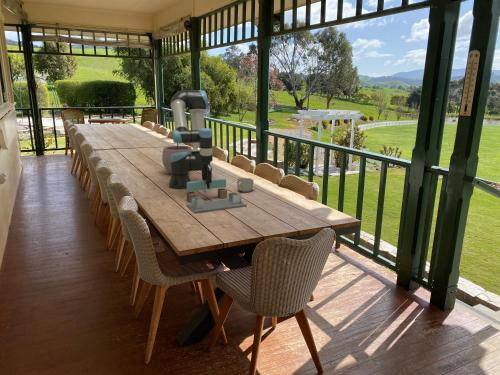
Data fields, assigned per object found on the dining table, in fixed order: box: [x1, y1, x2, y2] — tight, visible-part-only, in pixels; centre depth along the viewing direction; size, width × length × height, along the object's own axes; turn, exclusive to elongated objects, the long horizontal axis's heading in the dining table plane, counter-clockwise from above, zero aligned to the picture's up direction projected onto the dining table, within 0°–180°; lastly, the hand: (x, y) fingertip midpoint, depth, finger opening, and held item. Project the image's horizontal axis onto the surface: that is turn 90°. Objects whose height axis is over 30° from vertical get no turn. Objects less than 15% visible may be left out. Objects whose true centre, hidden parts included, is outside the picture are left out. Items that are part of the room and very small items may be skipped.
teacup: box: [236, 177, 255, 193], centre depth 254 cm, size 14×11×8 cm
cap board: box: [186, 198, 247, 214], centre depth 223 cm, size 15×31×1 cm, turn 116°
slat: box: [186, 177, 227, 192], centre depth 235 cm, size 3×24×5 cm, turn 116°
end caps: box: [190, 191, 242, 209], centre depth 222 cm, size 7×28×5 cm, turn 116°
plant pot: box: [161, 143, 193, 174], centre depth 301 cm, size 24×24×30 cm
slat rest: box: [186, 187, 228, 204], centre depth 236 cm, size 6×24×5 cm, turn 116°
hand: (206, 192), depth 236 cm, fingers closed on slat, 3 cm apart
